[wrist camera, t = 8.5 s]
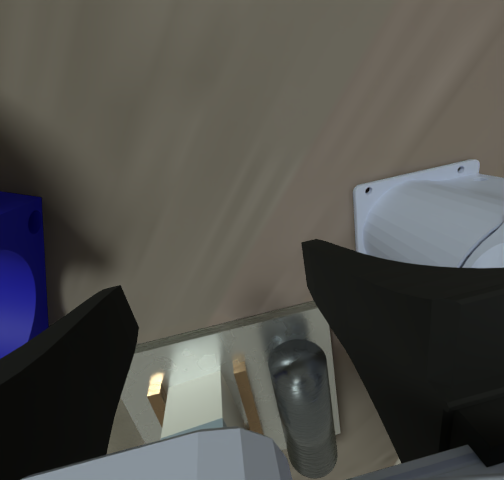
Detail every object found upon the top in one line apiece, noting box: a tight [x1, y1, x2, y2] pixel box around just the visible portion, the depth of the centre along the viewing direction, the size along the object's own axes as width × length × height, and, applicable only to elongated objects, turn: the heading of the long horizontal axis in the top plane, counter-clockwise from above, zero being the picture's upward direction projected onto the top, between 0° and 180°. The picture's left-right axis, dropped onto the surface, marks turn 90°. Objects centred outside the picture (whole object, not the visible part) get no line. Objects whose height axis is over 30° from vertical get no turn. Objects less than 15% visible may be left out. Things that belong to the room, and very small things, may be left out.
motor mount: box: [121, 301, 340, 478], centre depth 24 cm, size 18×16×5 cm
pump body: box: [161, 371, 245, 440], centre depth 23 cm, size 4×7×5 cm, turn 16°
